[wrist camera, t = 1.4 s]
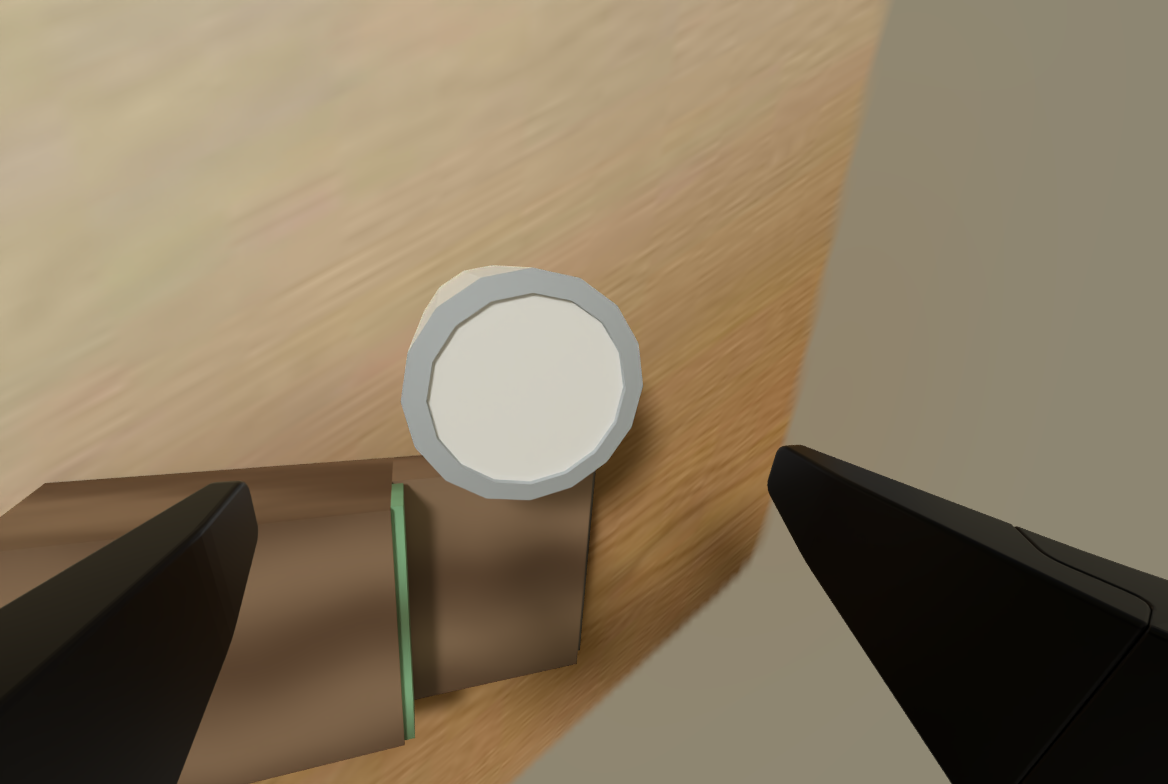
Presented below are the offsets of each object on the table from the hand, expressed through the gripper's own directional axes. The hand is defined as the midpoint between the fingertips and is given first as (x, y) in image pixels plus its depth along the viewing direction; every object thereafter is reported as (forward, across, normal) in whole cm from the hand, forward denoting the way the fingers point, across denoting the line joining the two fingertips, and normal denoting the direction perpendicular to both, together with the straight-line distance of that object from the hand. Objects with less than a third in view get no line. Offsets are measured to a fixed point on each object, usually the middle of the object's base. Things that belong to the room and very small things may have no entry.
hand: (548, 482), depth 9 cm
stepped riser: (+11, +5, +12) cm, 17 cm away
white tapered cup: (+13, 0, +2) cm, 13 cm away
